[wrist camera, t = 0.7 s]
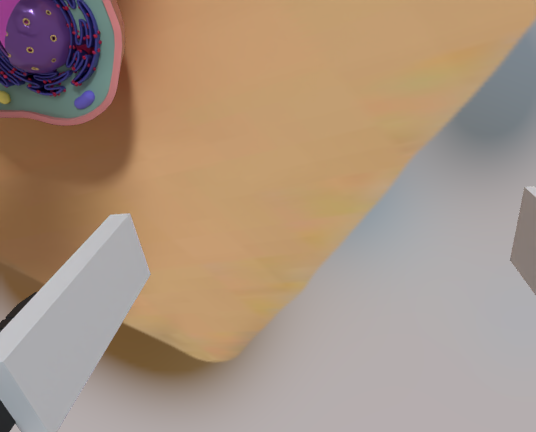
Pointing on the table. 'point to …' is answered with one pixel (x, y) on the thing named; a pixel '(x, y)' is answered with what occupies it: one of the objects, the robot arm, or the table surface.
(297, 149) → the table surface
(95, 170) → the table surface
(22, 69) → the cell model
